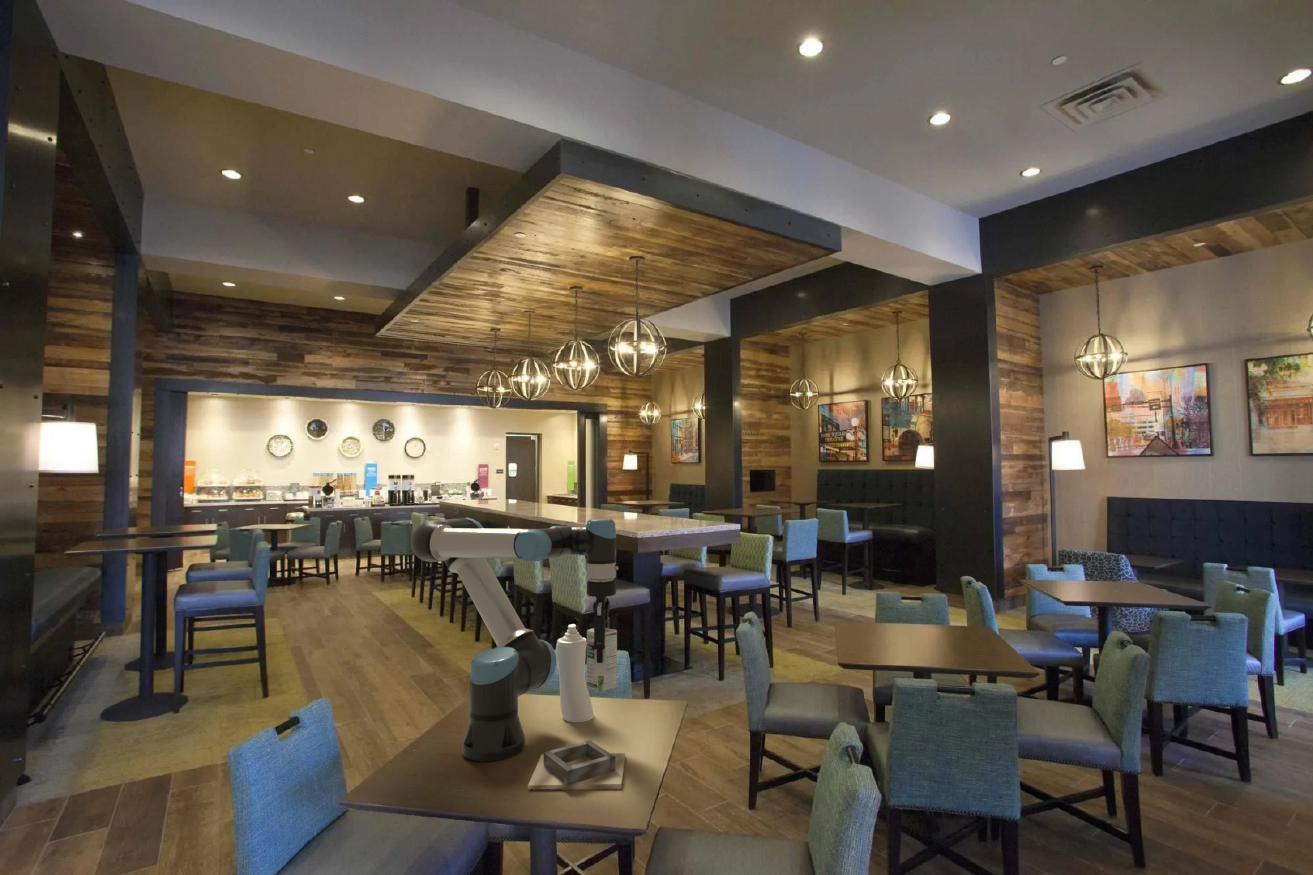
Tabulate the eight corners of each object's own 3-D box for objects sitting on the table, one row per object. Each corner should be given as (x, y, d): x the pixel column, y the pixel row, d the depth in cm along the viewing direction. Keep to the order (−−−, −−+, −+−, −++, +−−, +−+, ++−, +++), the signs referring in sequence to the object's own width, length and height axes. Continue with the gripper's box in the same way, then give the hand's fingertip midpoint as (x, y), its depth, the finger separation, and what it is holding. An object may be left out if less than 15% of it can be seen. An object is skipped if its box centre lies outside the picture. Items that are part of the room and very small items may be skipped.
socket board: (527, 790, 136) (527, 771, 136) (542, 757, 152) (541, 740, 153) (621, 789, 136) (620, 770, 136) (625, 756, 152) (625, 739, 153)
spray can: (549, 721, 176) (549, 629, 179) (560, 708, 187) (559, 621, 189) (590, 722, 175) (589, 630, 177) (598, 709, 185) (598, 622, 187)
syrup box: (585, 687, 161) (585, 629, 162) (602, 682, 165) (602, 625, 166) (600, 692, 157) (600, 632, 158) (618, 687, 161) (617, 628, 163)
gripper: (613, 585, 153) (613, 682, 151) (618, 573, 174) (619, 659, 172) (581, 585, 153) (581, 682, 151) (591, 573, 174) (591, 659, 172)
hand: (601, 670), depth 162 cm, fingers closed on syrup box, 8 cm apart
